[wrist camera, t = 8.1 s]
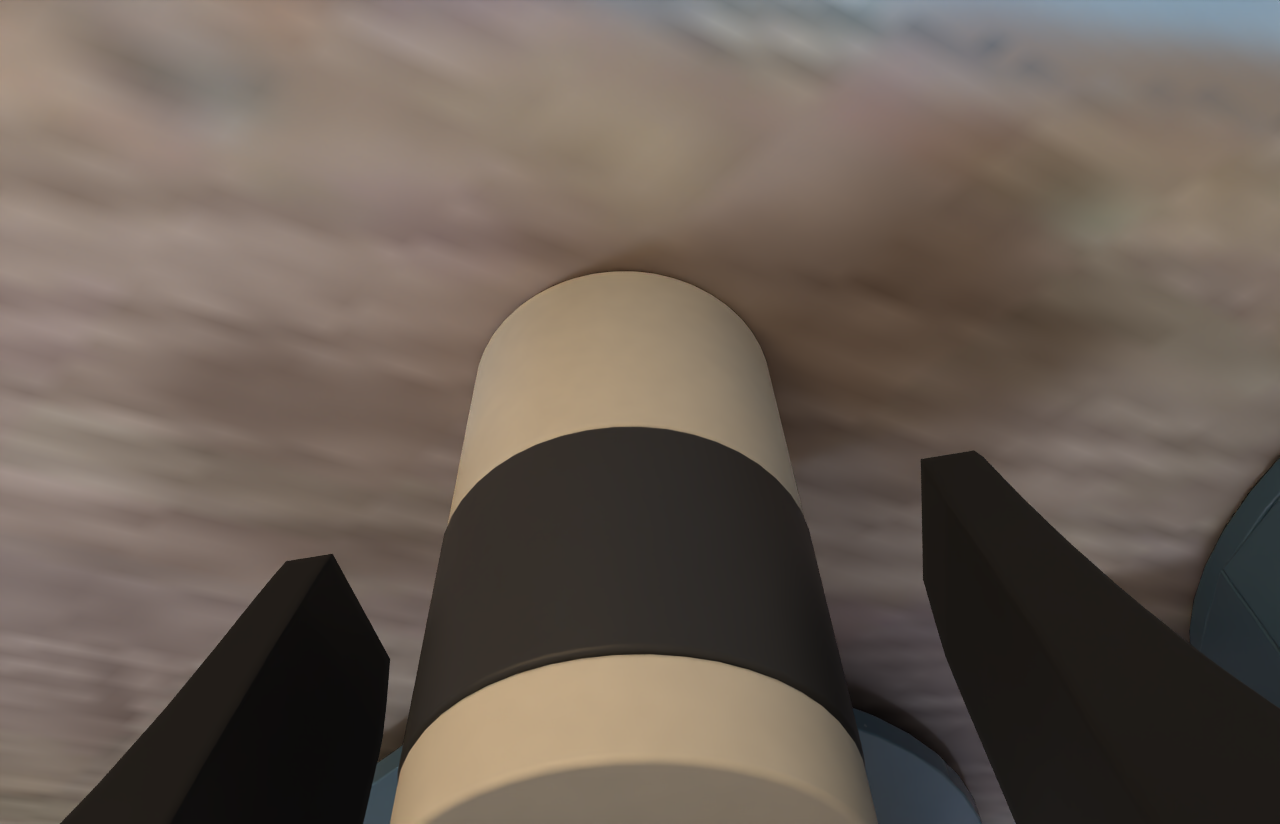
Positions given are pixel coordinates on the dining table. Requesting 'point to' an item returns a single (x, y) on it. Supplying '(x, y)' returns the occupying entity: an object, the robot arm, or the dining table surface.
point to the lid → (894, 763)
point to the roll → (628, 585)
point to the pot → (1245, 593)
